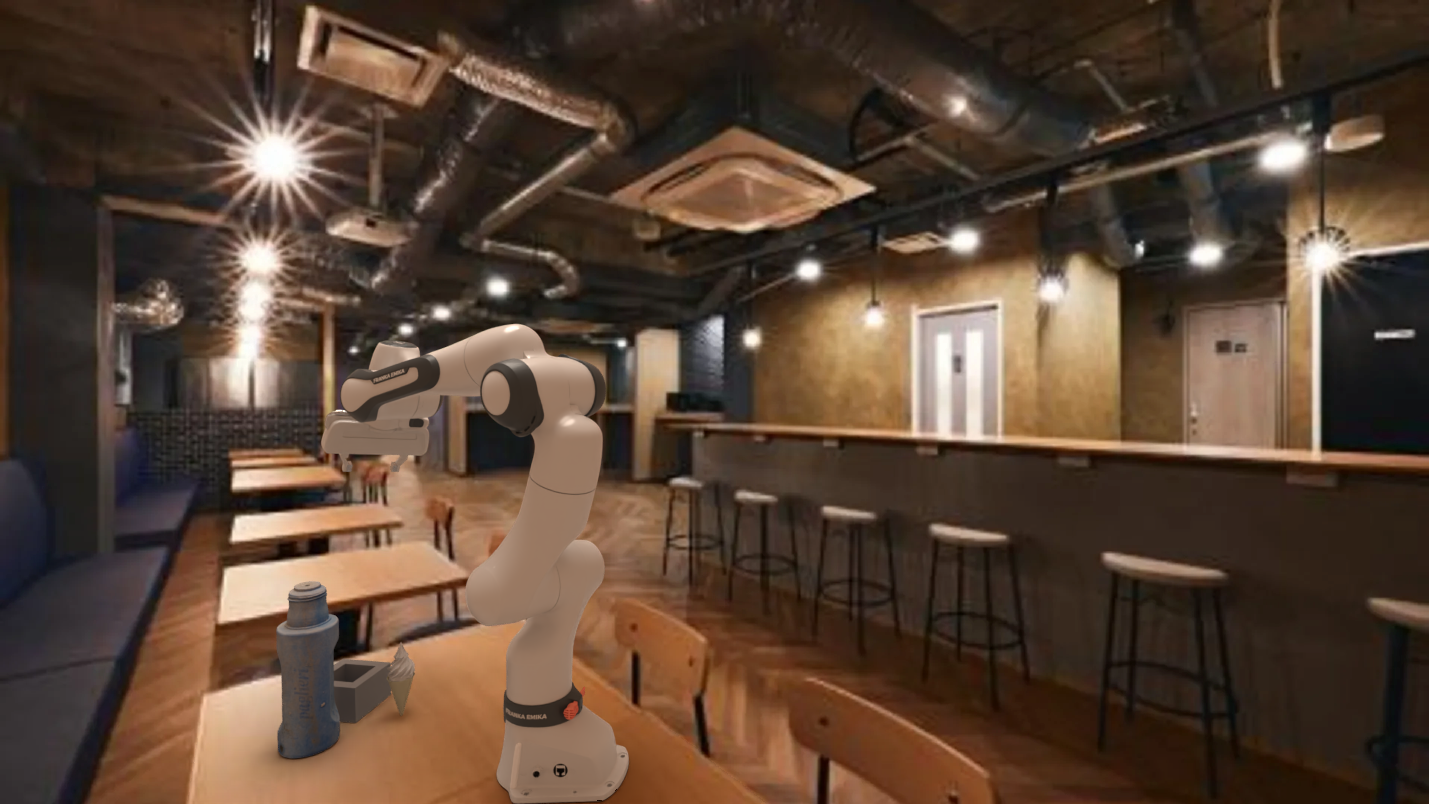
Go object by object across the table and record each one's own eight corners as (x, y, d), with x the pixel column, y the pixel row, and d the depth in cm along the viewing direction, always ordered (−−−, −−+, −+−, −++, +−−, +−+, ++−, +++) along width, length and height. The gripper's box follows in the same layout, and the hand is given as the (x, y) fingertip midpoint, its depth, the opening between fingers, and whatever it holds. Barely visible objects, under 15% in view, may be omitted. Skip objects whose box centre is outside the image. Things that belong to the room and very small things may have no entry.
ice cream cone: (420, 709, 130) (419, 637, 129) (406, 722, 125) (405, 648, 124) (397, 707, 131) (396, 635, 130) (381, 721, 126) (380, 646, 125)
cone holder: (391, 694, 136) (390, 662, 135) (355, 723, 125) (355, 688, 124) (343, 690, 137) (343, 658, 137) (304, 718, 126) (303, 683, 126)
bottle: (284, 735, 120) (280, 579, 119) (344, 724, 124) (341, 573, 123) (271, 765, 112) (267, 596, 110) (336, 752, 115) (333, 589, 114)
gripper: (330, 415, 125) (317, 477, 129) (437, 422, 139) (423, 477, 143) (324, 402, 130) (312, 462, 133) (428, 409, 144) (415, 464, 147)
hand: (370, 470), depth 138 cm, fingers open, 8 cm apart
